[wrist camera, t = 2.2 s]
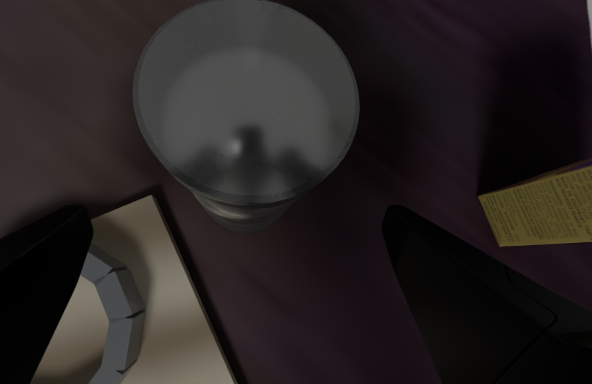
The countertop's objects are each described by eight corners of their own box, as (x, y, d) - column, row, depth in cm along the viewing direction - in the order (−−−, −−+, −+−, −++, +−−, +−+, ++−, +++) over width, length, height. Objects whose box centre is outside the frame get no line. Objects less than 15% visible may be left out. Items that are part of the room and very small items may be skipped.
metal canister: (302, 213, 20) (398, 147, 8) (223, 252, 18) (190, 243, 6) (265, 140, 20) (302, -27, 8) (186, 172, 19) (93, 27, 7)
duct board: (254, 422, 17) (255, 432, 16) (-35, 611, 13) (-56, 638, 12) (155, 198, 18) (151, 194, 17) (-126, 315, 15) (-152, 319, 14)
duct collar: (170, 367, 16) (160, 383, 14) (-26, 478, 14) (-71, 515, 12) (106, 213, 17) (88, 207, 15) (-87, 292, 15) (-137, 297, 13)
